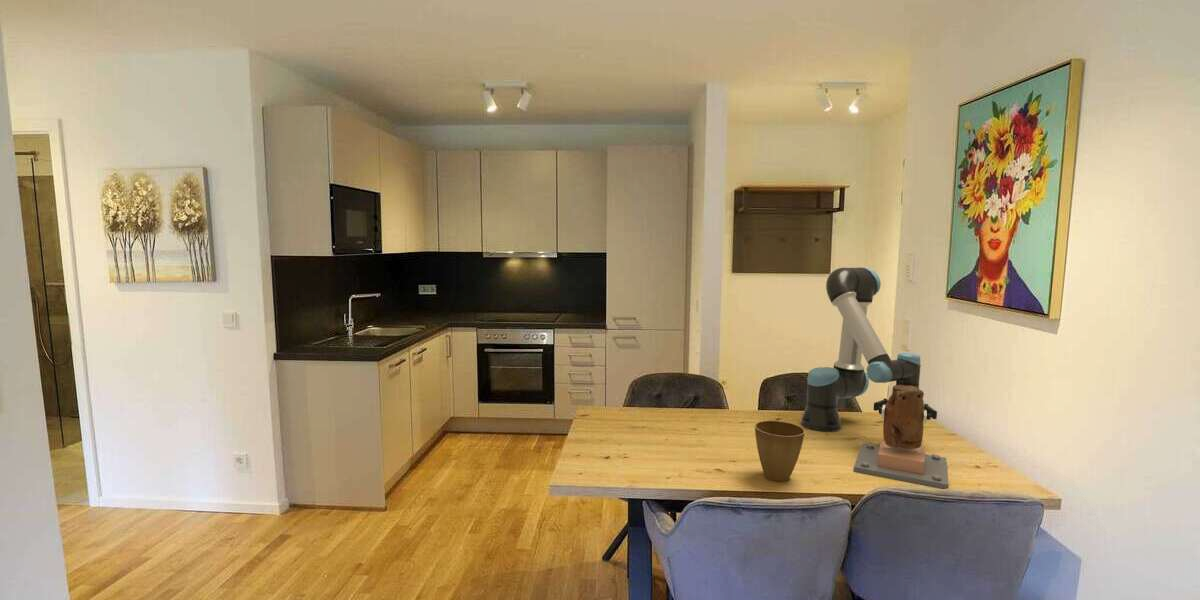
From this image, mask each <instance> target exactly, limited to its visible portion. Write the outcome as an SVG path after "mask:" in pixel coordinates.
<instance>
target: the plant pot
mask: <svg viewBox="0 0 1200 600" xmlns="http://www.w3.org/2000/svg"><path fill="white" fill-rule="evenodd" d="M754 432H755V433H754V434H755V442H756V447H757V453H758V457H759V462H760V464H761V468H762V471H763V475H764V476H765V478H766V479H767V480H770V481H772V482H773V481H774V482H781V483H782V482H787V481H789V480H790V479H791V476H792V475H793V472H794V470H795V467H796V465H797V462H798V459H799V456H800V453H801V450H802V447H803V442H804V437H805V433H806V430H805V429H804V428H803V427H802V426H800V425H797V424H795V423H792V422H789V421H788V422H787V421H781V420H761V421H758V422H756V423H754Z"/></svg>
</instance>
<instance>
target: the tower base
mask: <svg viewBox="0 0 1200 600" xmlns="http://www.w3.org/2000/svg"><path fill="white" fill-rule="evenodd" d="M925 447H926V446H922V445H921V446H920V447H919V448H916V449H903V448H899V447H898V448H894V447H890V446H888V445H886V443H885V440H884V439H881V442H880V445H879V446H878V445H875V444H874V443H862V444H861V446H860V448H859V452H858V455H857V457H856V459H855V462H854V465H853V472H854V473H861V474H865V475H871V476H875V477H880V478H885V479H886V478H887V479H891V480H897V481H901V482H906V483H910V484H911V483H913V484H917V485H922V486H928V487H933V488H937V487H938V488H939V489H943V488H948V489H949V484H950V483H949V474H948V464H947V463H948V462H947V457H945V456H940V455H938V454H926V453H925V451H926V449H925Z"/></svg>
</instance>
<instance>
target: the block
mask: <svg viewBox="0 0 1200 600" xmlns="http://www.w3.org/2000/svg"><path fill="white" fill-rule="evenodd" d="M924 395H925V394H924V391H923V390H921V389H920V387H919V388H917V387H914V386H904V385H897V386H896V384H895V385H893V386H892V392H891V394H890V396H889V398H888V399H887V400H888V402H887V404H886V406H885V414H884V418H883V422H882V423H883V425H882V426H883V427H882V429H883V430H882V431H883V433H882V434H883V440H885V443H886V445H888V446H890V447H894V448H898V447H899V448H903V449H916V448H919V447H920V446H922V444H923V438H924V437H923V435H924V424H923V420H924V404H925V402H924Z"/></svg>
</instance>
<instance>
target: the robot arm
mask: <svg viewBox="0 0 1200 600" xmlns="http://www.w3.org/2000/svg"><path fill="white" fill-rule="evenodd" d="M825 283H826V284H825V290H826V293H827V296H828V299H829V301H830V302H831V305H832V306H834V307H836V308H837V309H838V312H839V313H840V316H841V317H842V324H841V333H840V343H839V353H838V359H837V360H836V361H835V362H834V363H833V367H829V366H823V367H815V368H812V369H810V370H809V372H808V375H807V380H806V381H807V384H806V385H807V387H806V406H805V409H804V411H803V414H802V416H801V420H800V421H801V423H800V424H801V425H802V426H803V427H804V428H807V429H810V430H813V431H819V432H838V431H840V430H841V429H842V422H841V421H842V420H841V418H840V414H839V410H838V400H841V399H849V398H850V399H851V398H856V397H860V396H862V395H863V394H865V393H866V392H867V390H868V389H869V388H868V387H869V384H870V382H869V381H871V382H873V383H877V384H881V383H883V384H886V383H891V382H895V385H896V386H897V385H904V386H914V387H917V388H919V389H920V378H921V376H920V375H921V367H922V365H921V355H919V354H916V353H913V352H900V353H897V358H896V359H893V360H892V359H891V357H890V356H889V354H888V352H887V350H886V349H885V346H884V344H883V343H882V341H881V339H880V338H879V337H878V335H877V333H876V331H875V329H874V327H873V326H872V324H871V323H870V320H869V319H868V317H867V312H868V306H870V305H871V304H872V303H873V299H874V296H876V295H877V294H878V293H879V291H880V289H881V283H882V282H881V278H880V276H879V274H877V272H876V271H875V270H873V269H871V268H870V267H863V266H862V267H860V266H859V267H839V268H837V269H834V270H833V271H832V272H830V274H829V275H828V277H827V279H826V282H825ZM862 356H863V357H864V359H865V360H866V362H867V367H866V371H865V367H864V365H863V364H862ZM888 400H889V399H888V398H883V399H882V400H879V401H876V402H873V411H874V412H877V411H878V414H879V415H880V416H881V418H883V419H884V414H885V406H886V404H887V402H888ZM937 417H938V411H937V410H935V409H934V408H932V407H931V406H929V404H928V403H924V420H923V425H926V424H927V420H928V421H929V420H930V421H931V419H933V420H937V419H938V418H937Z"/></svg>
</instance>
